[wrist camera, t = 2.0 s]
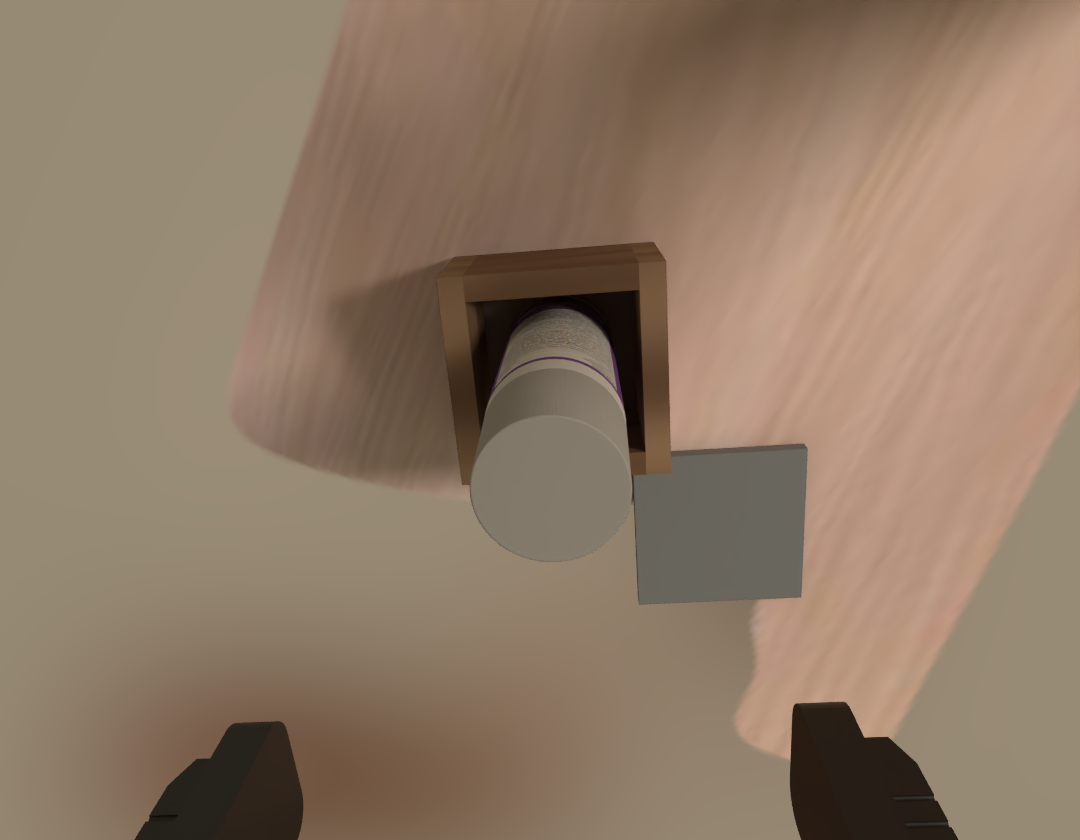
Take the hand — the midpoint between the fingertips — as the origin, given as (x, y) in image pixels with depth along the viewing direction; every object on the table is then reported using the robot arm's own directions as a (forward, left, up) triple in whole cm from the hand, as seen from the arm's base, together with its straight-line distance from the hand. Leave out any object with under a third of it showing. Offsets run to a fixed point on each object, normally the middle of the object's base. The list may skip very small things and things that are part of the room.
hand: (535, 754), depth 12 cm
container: (0, 0, -25) cm, 25 cm away
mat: (+9, +7, -24) cm, 27 cm away
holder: (0, 0, -24) cm, 24 cm away
